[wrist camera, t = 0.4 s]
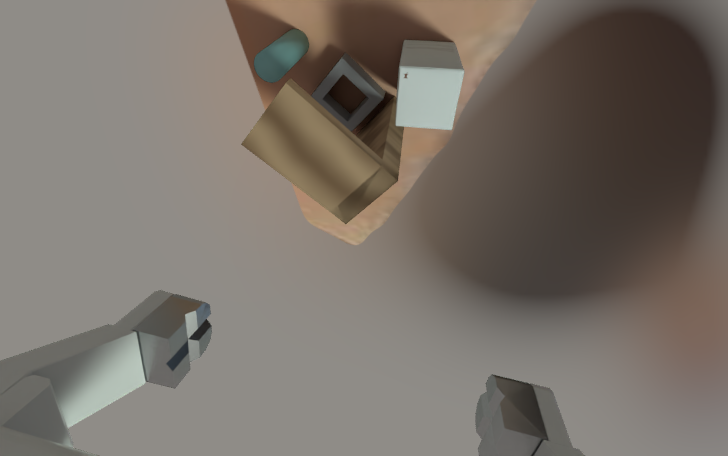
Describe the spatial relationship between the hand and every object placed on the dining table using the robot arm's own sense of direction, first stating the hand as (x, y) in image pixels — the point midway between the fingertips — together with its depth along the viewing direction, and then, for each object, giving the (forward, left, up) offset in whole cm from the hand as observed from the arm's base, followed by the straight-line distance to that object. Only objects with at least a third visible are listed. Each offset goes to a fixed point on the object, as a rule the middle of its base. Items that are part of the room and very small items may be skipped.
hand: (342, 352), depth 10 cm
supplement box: (+2, +6, -50) cm, 50 cm away
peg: (+13, -10, -50) cm, 52 cm away
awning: (+13, 0, -50) cm, 51 cm away
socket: (+13, 0, -50) cm, 51 cm away
